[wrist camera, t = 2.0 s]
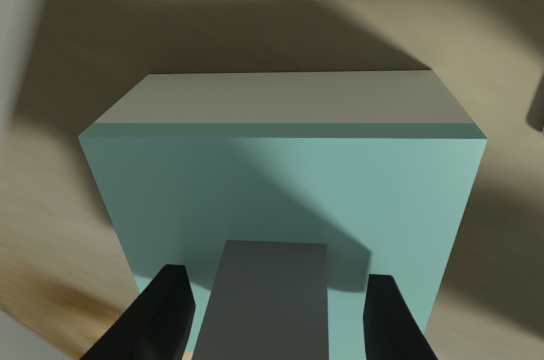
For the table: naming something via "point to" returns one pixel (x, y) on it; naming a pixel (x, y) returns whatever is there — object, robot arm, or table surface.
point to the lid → (286, 222)
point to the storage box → (289, 98)
